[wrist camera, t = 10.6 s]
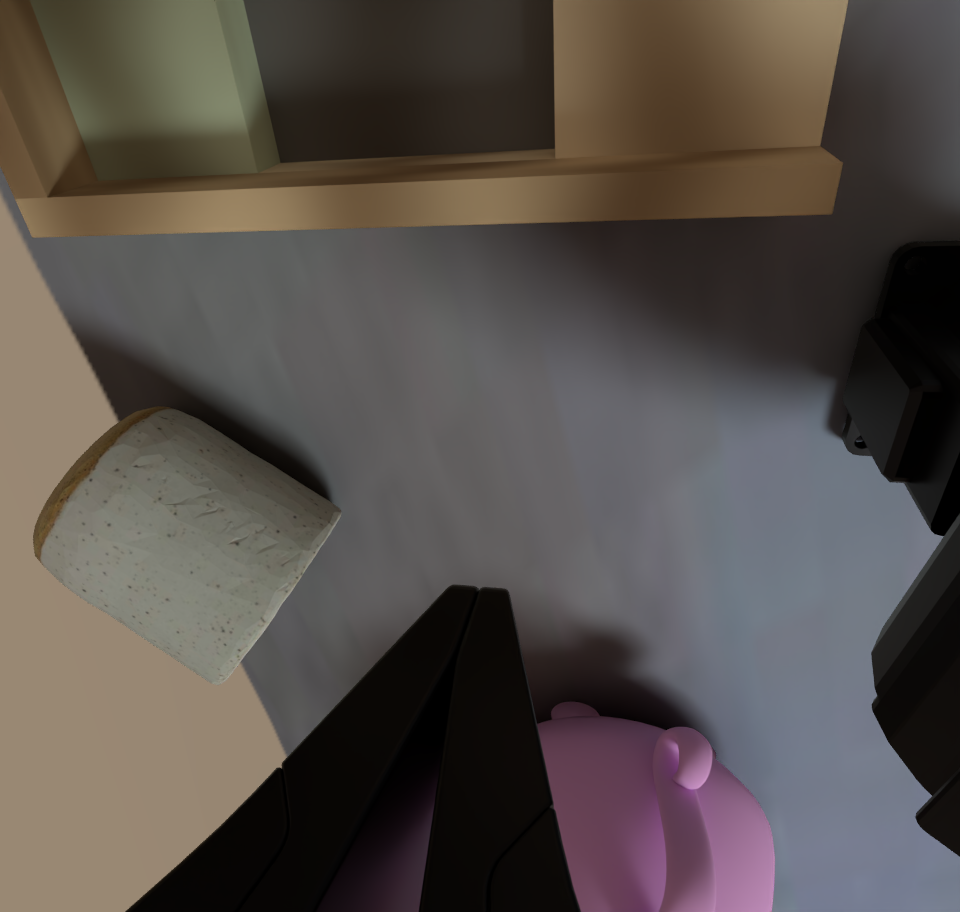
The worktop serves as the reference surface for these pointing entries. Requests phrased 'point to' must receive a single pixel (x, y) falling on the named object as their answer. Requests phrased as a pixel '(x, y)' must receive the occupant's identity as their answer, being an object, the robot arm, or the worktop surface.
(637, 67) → the track
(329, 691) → the worktop surface
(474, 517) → the worktop surface
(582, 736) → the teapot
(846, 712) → the worktop surface
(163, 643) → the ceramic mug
